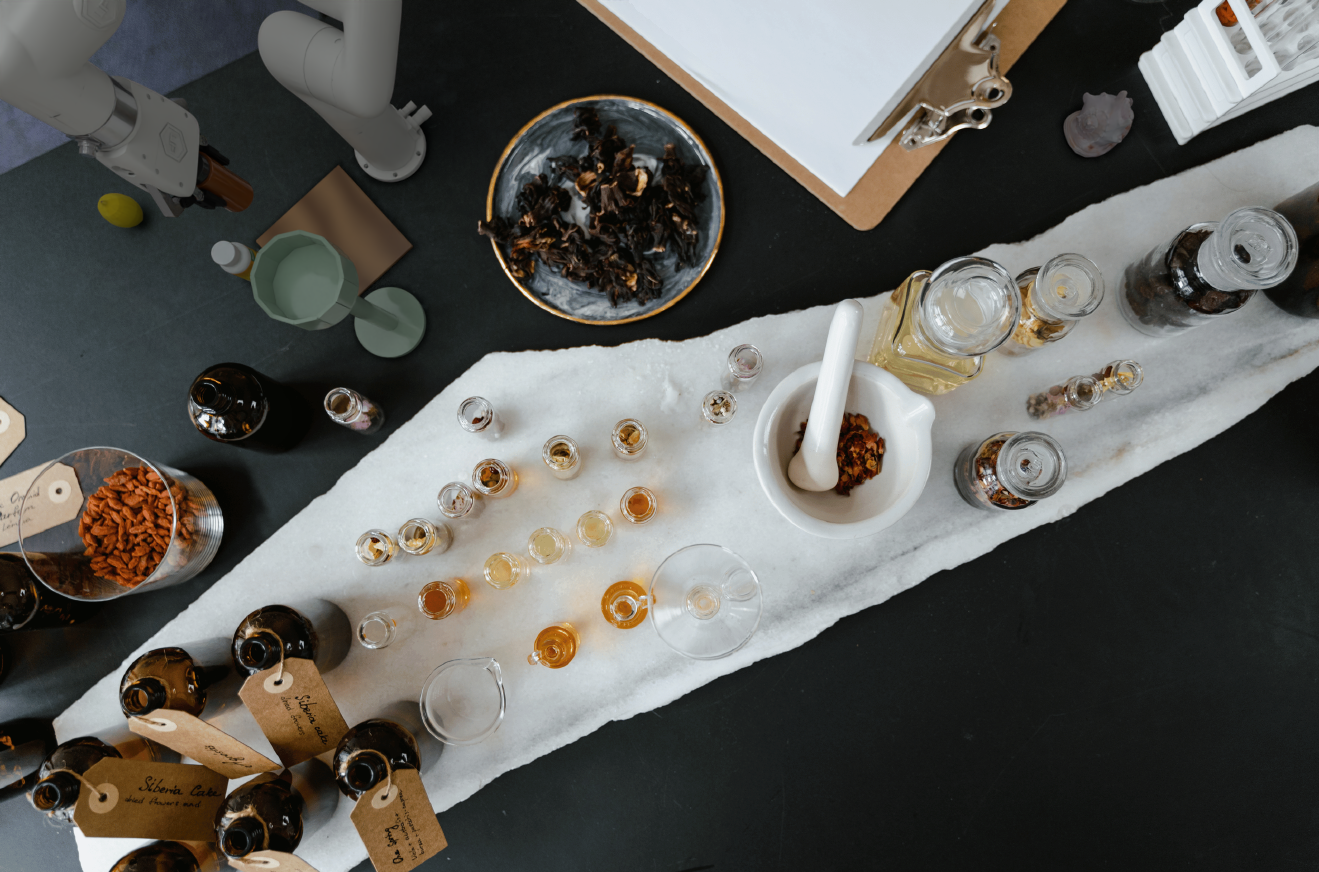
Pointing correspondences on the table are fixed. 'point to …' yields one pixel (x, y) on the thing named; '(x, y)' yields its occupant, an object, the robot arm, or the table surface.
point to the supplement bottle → (234, 258)
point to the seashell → (1099, 124)
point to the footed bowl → (332, 294)
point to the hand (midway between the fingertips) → (216, 182)
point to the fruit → (120, 210)
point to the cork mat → (346, 226)
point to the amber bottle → (223, 183)
